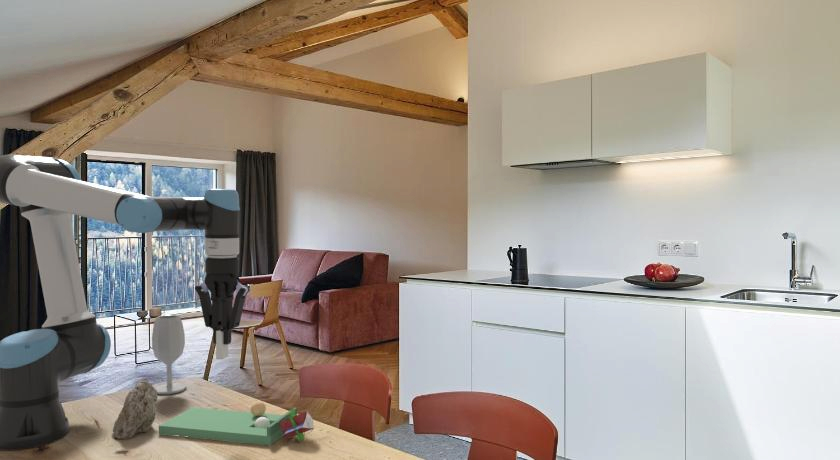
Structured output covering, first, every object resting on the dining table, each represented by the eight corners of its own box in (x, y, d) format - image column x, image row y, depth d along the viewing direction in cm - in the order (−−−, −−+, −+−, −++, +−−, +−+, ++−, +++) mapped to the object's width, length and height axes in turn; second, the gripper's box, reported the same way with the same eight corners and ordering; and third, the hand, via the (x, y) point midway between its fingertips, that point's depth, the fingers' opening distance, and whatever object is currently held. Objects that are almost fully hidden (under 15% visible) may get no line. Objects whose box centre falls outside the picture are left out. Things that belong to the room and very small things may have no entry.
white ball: (258, 416, 139) (268, 428, 139) (266, 411, 143) (275, 423, 142) (248, 426, 140) (258, 438, 140) (256, 421, 143) (265, 432, 143)
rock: (156, 412, 137) (118, 403, 135) (142, 451, 139) (105, 443, 137) (168, 381, 150) (134, 373, 148) (156, 418, 152) (122, 410, 150)
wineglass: (145, 393, 171) (143, 318, 170) (167, 385, 179) (166, 313, 178) (171, 396, 168) (169, 320, 167) (192, 387, 176) (191, 314, 176)
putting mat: (158, 434, 140) (158, 416, 140) (193, 415, 153) (193, 399, 153) (270, 445, 133) (270, 427, 133) (297, 424, 146) (296, 407, 146)
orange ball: (247, 418, 145) (247, 403, 145) (255, 413, 148) (255, 398, 148) (261, 419, 144) (261, 404, 144) (268, 414, 147) (268, 399, 147)
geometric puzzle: (268, 435, 133) (290, 406, 133) (276, 424, 140) (297, 396, 140) (295, 455, 133) (317, 426, 133) (302, 443, 140) (322, 415, 140)
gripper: (187, 256, 140) (187, 359, 141) (238, 258, 137) (238, 364, 138) (206, 254, 147) (206, 352, 148) (256, 255, 144) (255, 356, 145)
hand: (222, 357), depth 143 cm, fingers closed
